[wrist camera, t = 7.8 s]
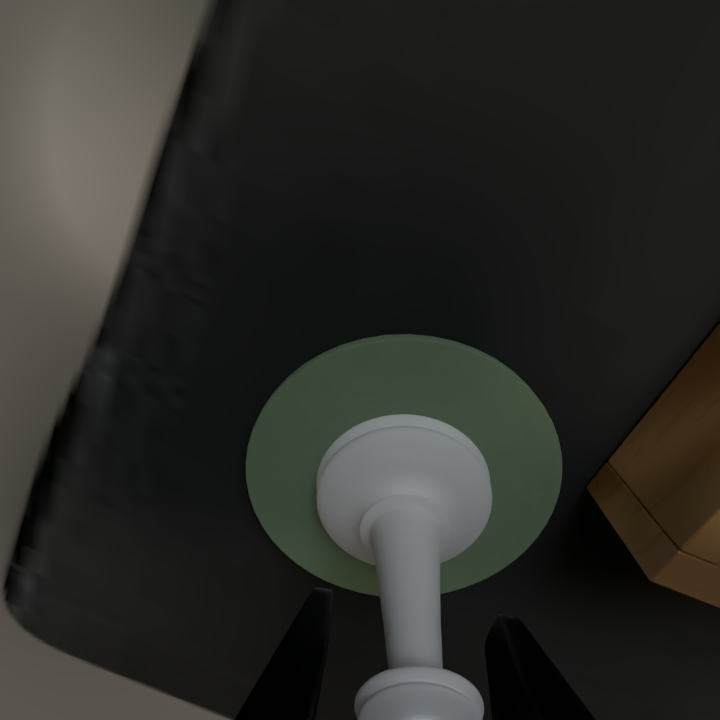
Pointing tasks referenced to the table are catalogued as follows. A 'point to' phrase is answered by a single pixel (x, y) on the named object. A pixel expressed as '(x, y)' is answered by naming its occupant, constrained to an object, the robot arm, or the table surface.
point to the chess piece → (407, 549)
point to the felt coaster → (415, 397)
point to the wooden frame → (672, 482)
